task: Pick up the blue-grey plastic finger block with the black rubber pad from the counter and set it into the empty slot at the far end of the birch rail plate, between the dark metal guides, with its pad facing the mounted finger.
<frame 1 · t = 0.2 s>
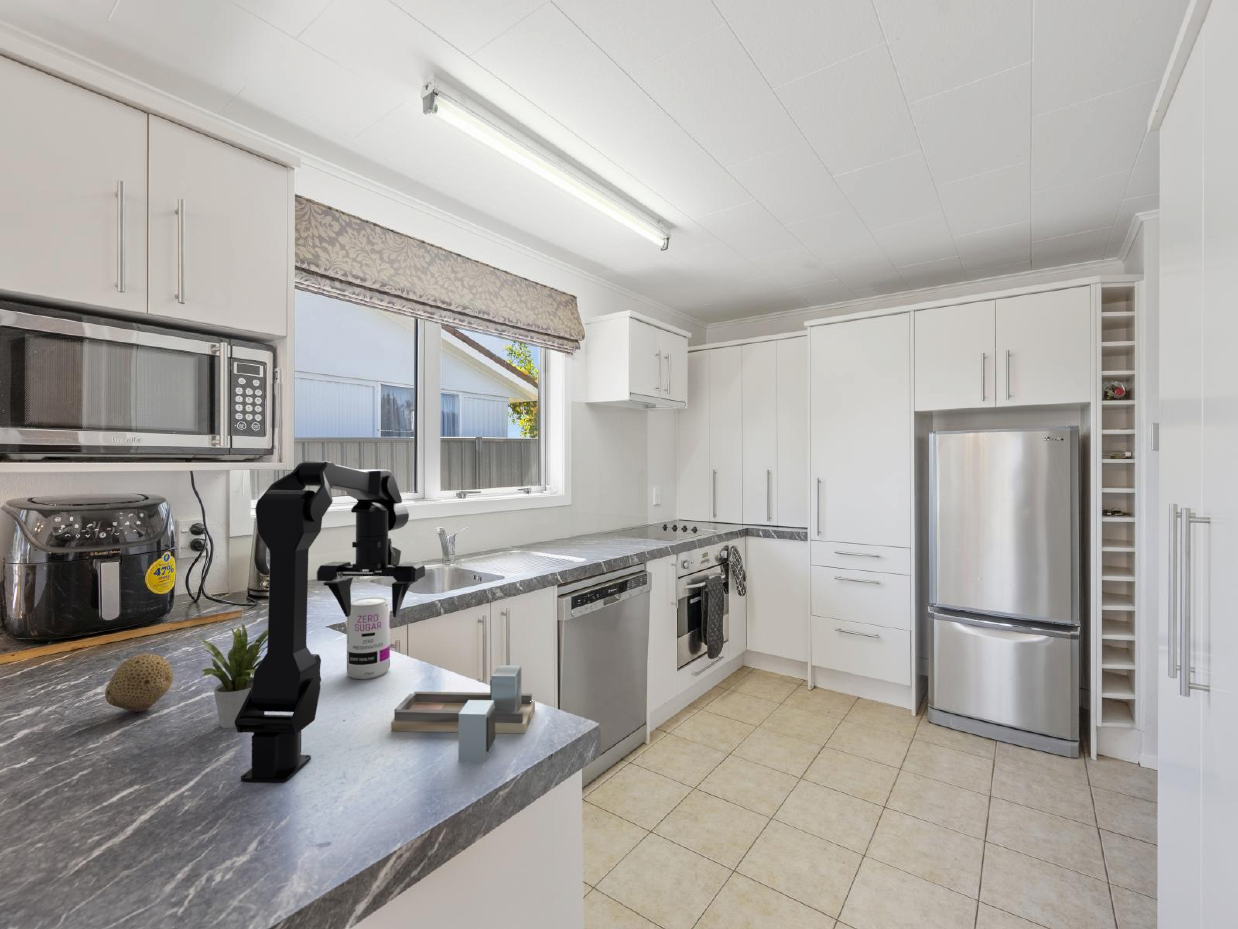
hand: (371, 616, 109), 15 cm above the counter, fingers open, 9 cm apart
supplement can: (368, 674, 120), on the counter
rail plate: (465, 719, 98), on the counter
natural sponge: (141, 713, 101), on the counter
house plant: (246, 722, 97), on the counter
finger block: (476, 753, 87), on the counter
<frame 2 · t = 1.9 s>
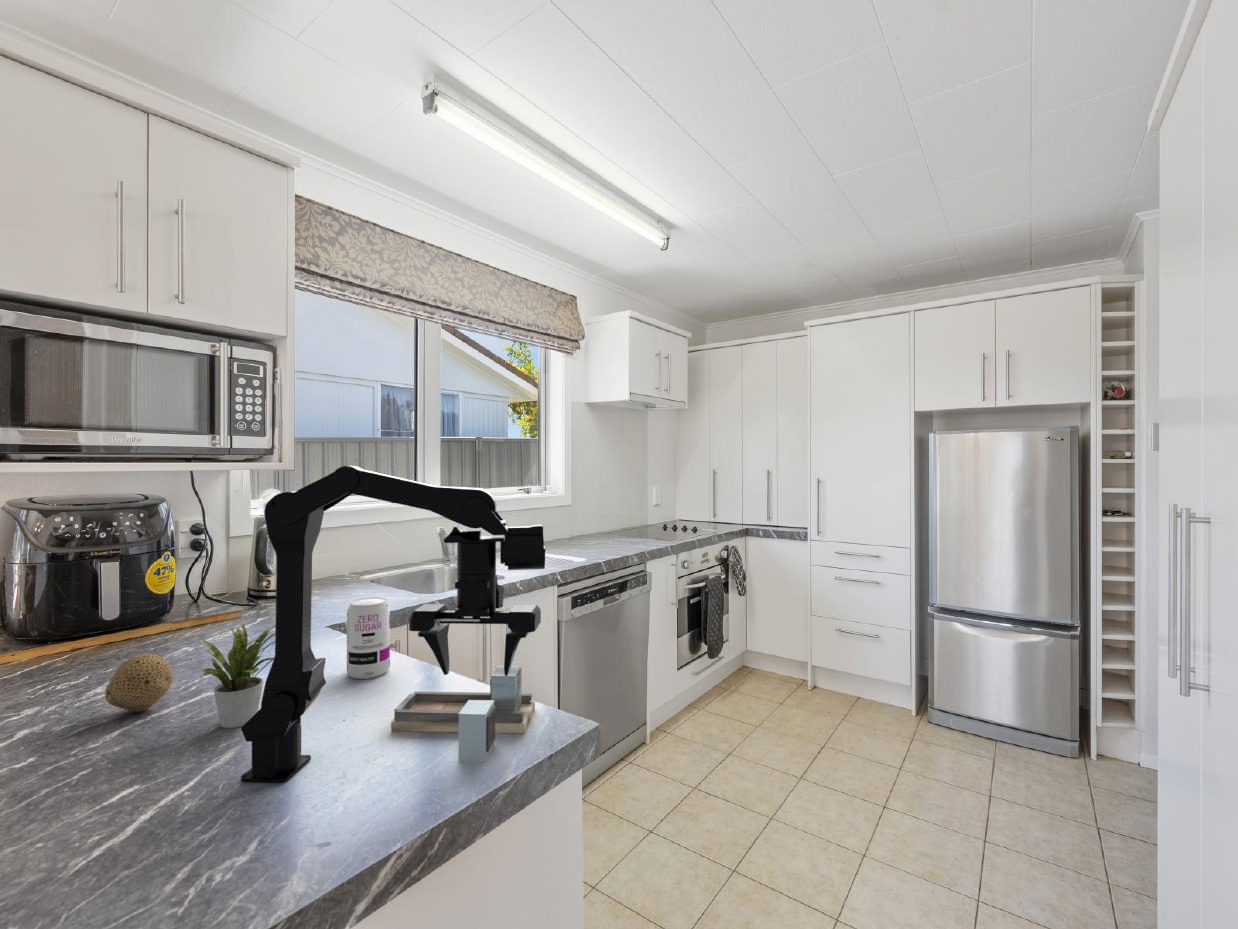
hand: (476, 674, 87), 12 cm above the counter, fingers open, 9 cm apart
nothing on the counter moved.
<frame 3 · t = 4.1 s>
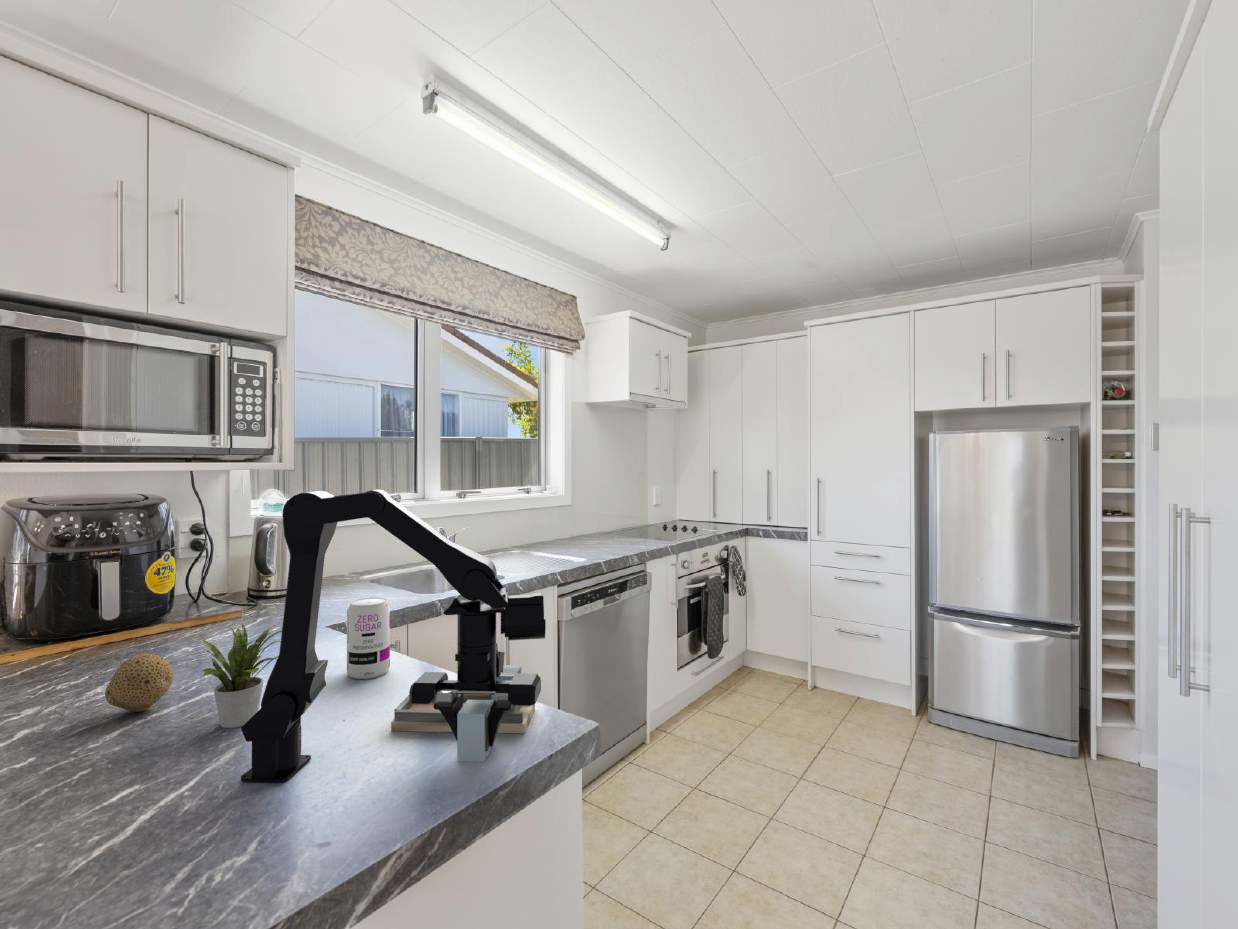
hand: (476, 744, 87), 1 cm above the counter, fingers closed on finger block, 4 cm apart
finger block: (475, 753, 87), on the counter, touching gripper
everything else where it was.
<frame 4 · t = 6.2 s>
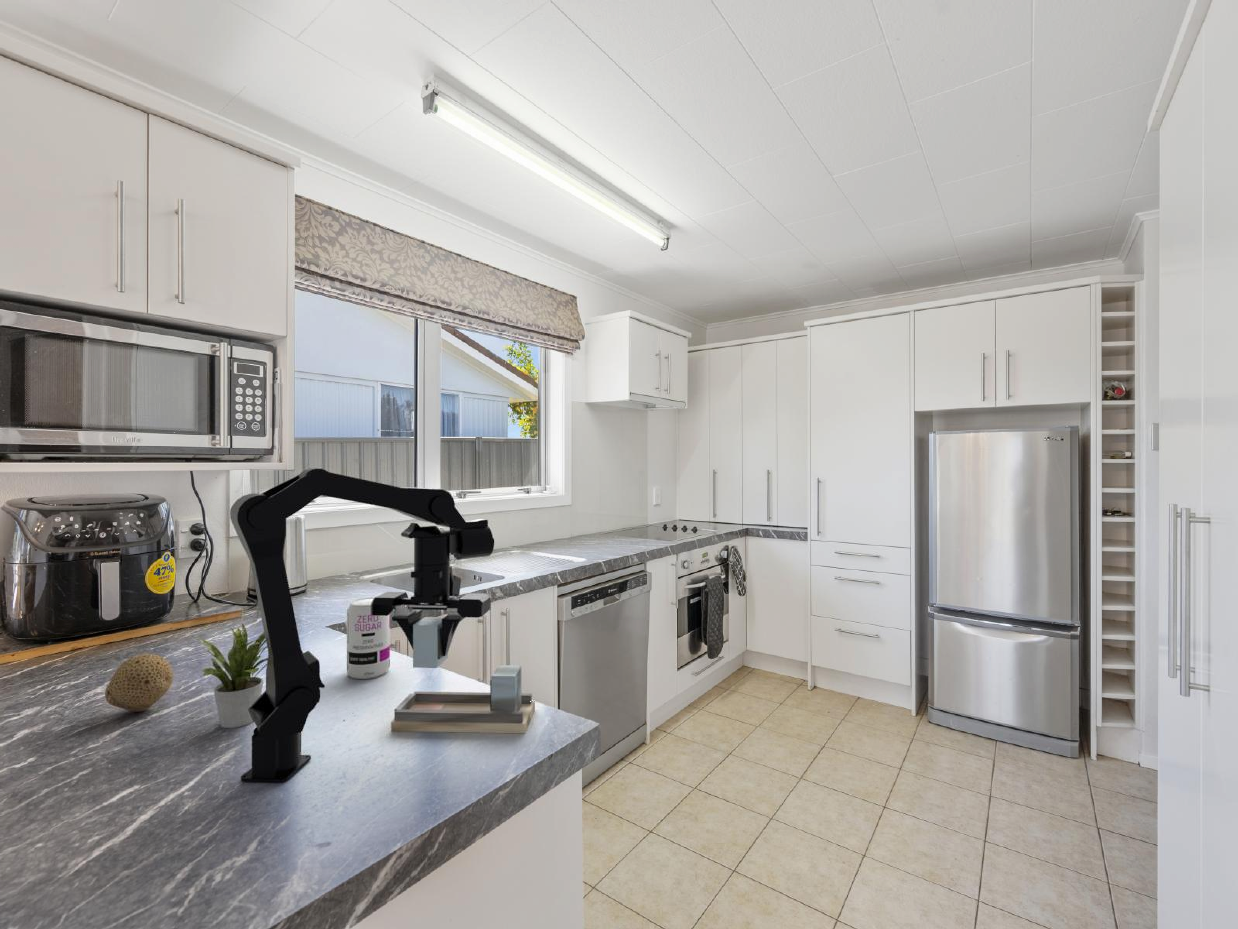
hand: (431, 655, 96), 11 cm above the counter, fingers closed on finger block, 4 cm apart
finger block: (430, 662, 97), point 10 cm above the counter, touching gripper
everything else where it was.
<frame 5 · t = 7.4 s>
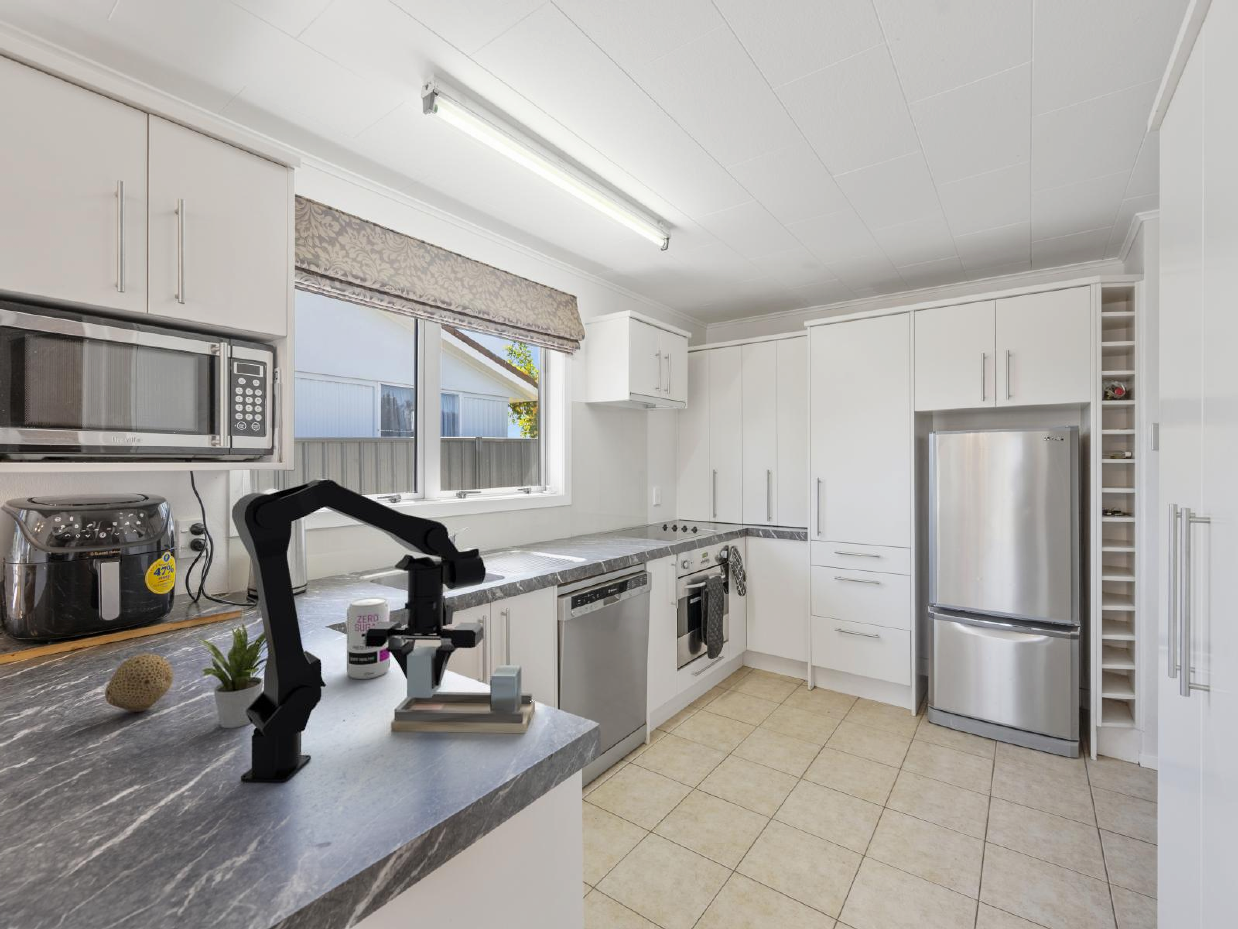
hand: (425, 684, 98), 6 cm above the counter, fingers closed on finger block, 4 cm apart
finger block: (424, 691, 98), point 5 cm above the counter, touching gripper
everything else where it was.
when the fingers open (4 cm above the counter, at t = 8.5 s): finger block drops 1 cm, resting on rail plate.
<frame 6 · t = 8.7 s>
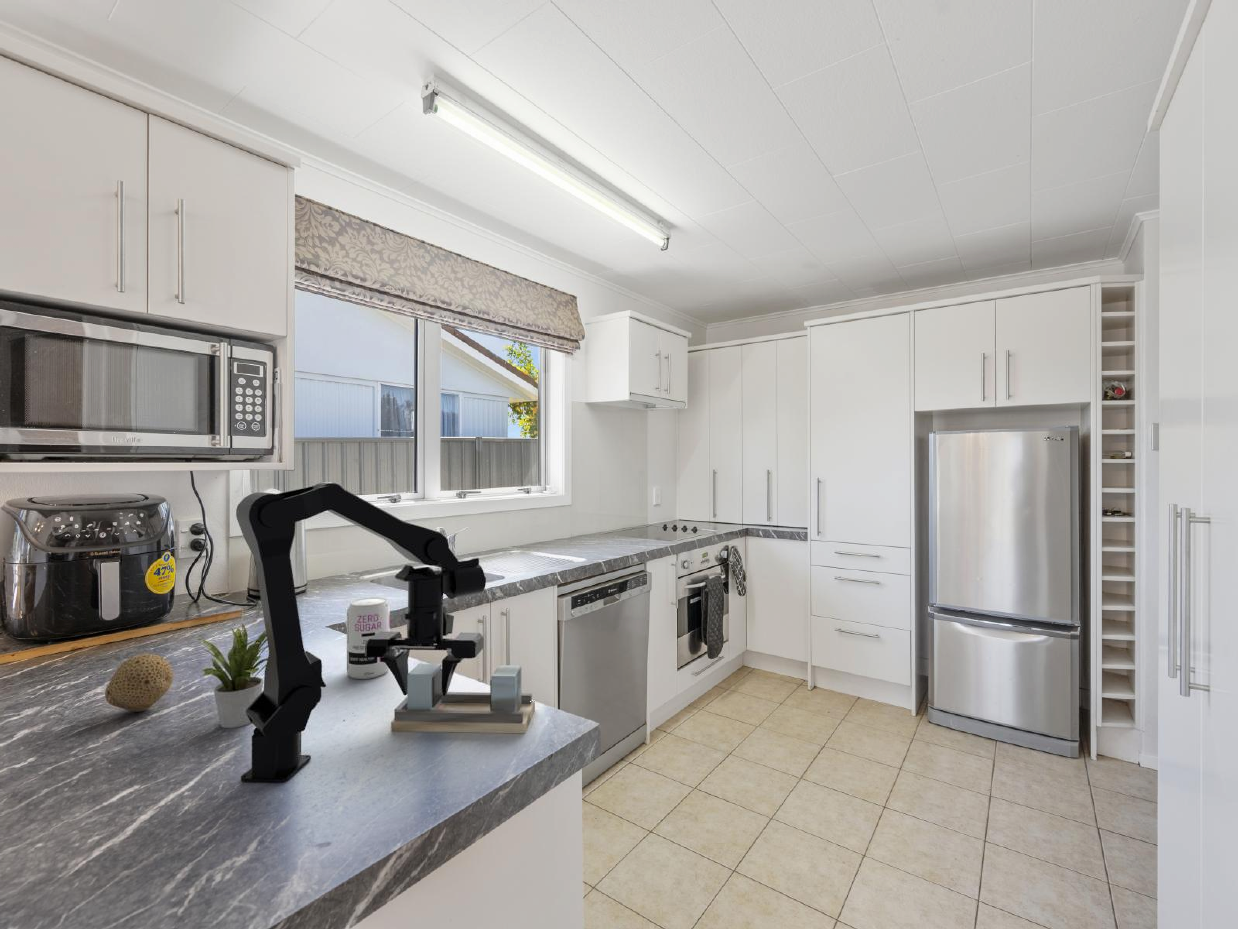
hand: (425, 694, 98), 4 cm above the counter, fingers open, 6 cm apart
finger block: (424, 709, 98), point 2 cm above the counter, touching rail plate
everything else where it was.
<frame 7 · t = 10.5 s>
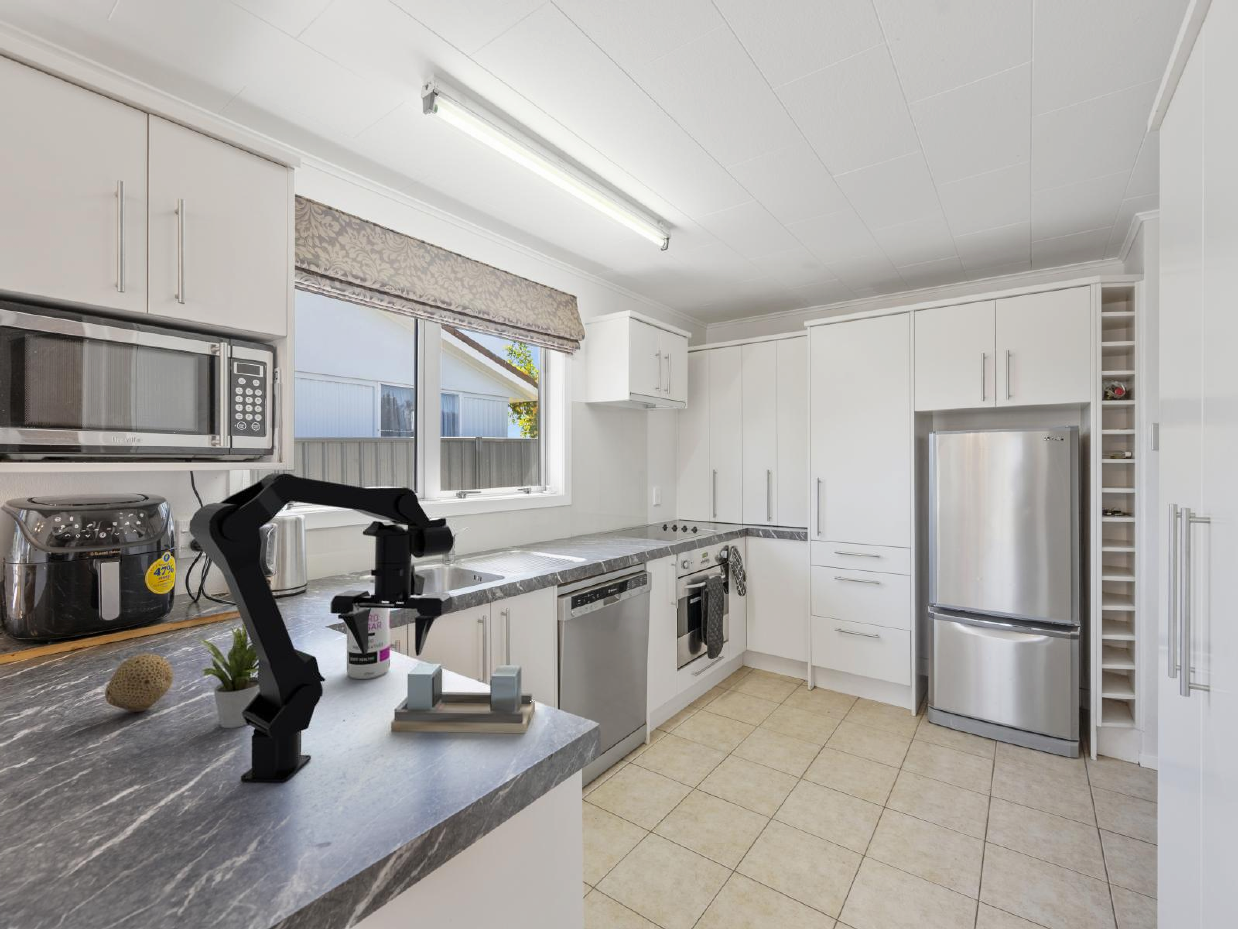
hand: (391, 654, 96), 12 cm above the counter, fingers open, 9 cm apart
nothing on the counter moved.
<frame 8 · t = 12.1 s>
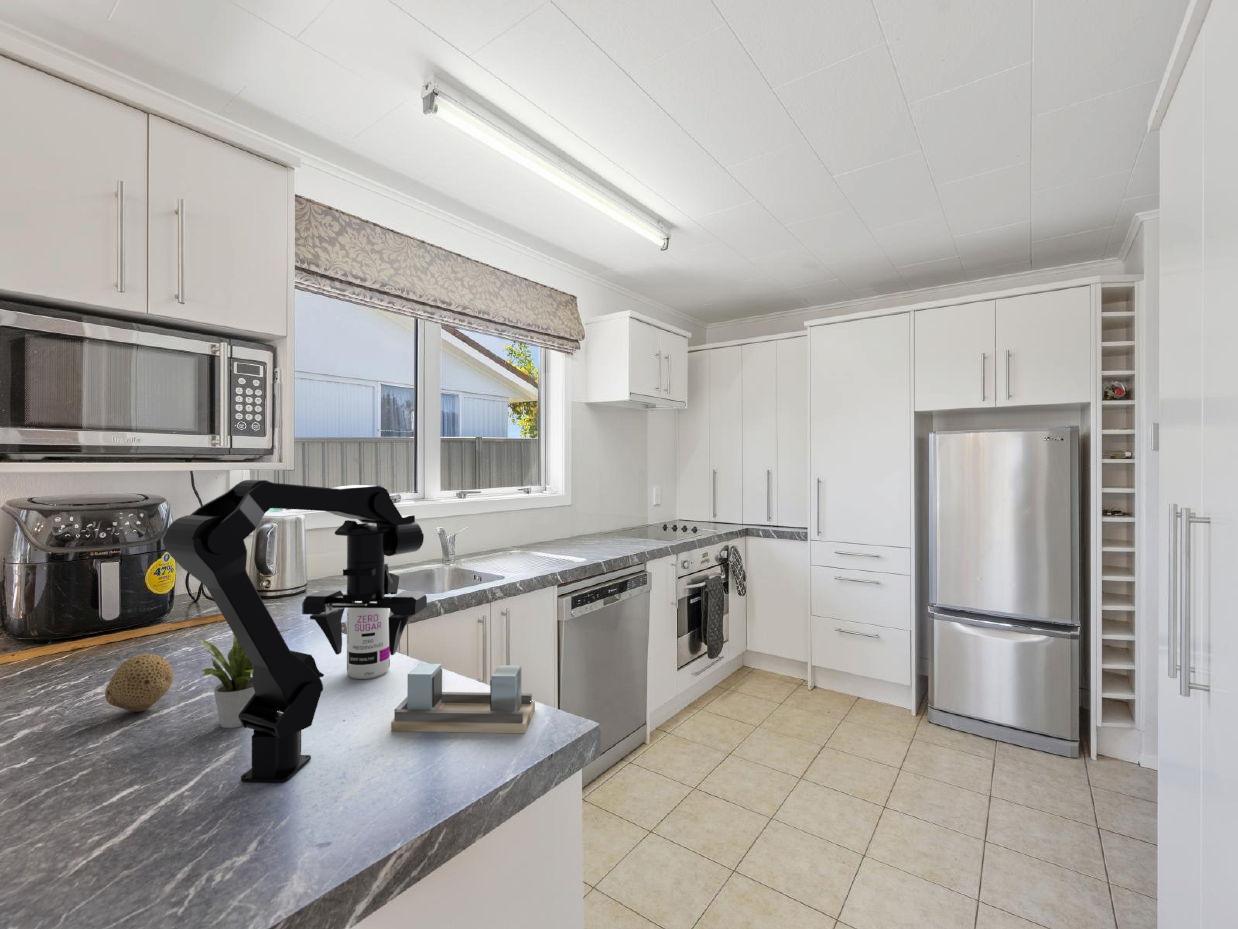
hand: (365, 654, 95), 12 cm above the counter, fingers open, 9 cm apart
nothing on the counter moved.
at the end: finger block 0.1 cm from the target spot, point 1.6 cm above the counter; finger block tilted 0°; the gripper is holding nothing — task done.
